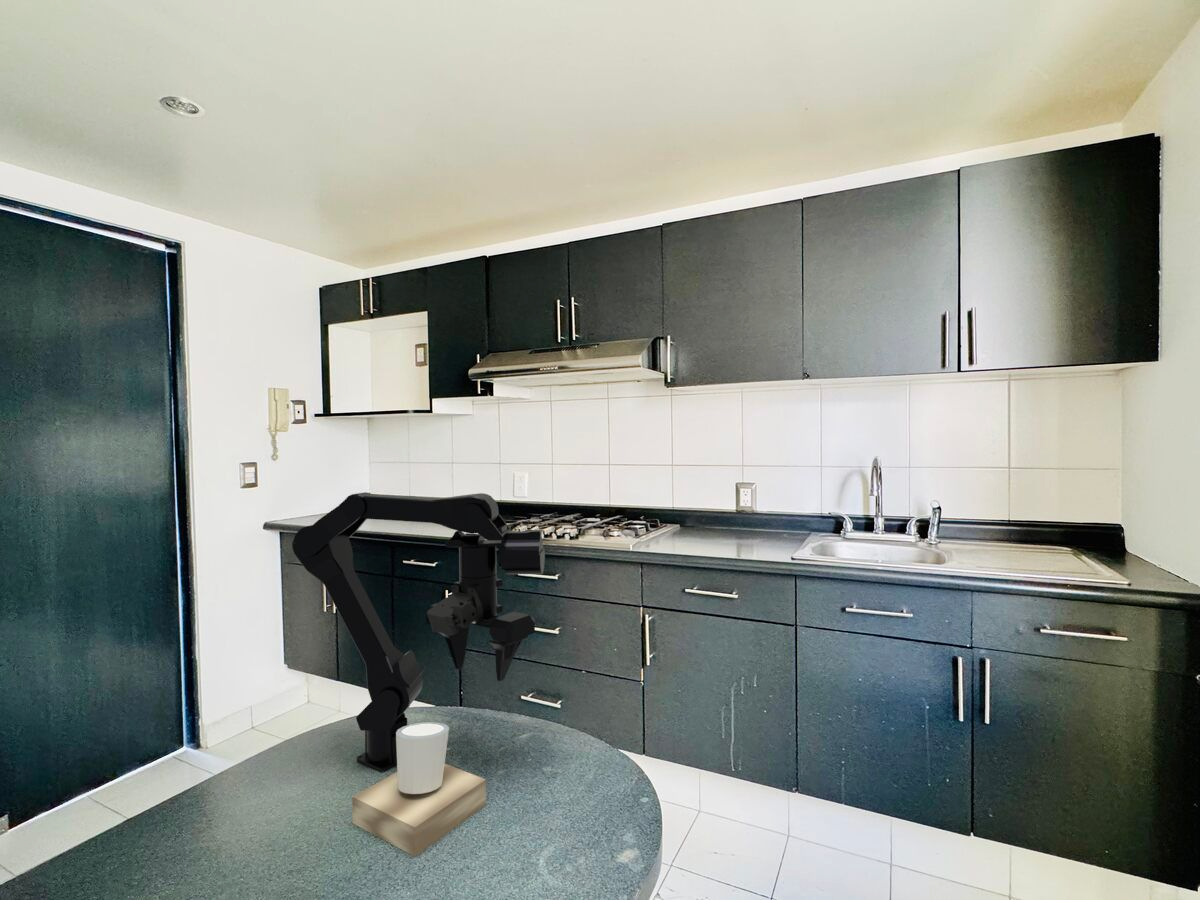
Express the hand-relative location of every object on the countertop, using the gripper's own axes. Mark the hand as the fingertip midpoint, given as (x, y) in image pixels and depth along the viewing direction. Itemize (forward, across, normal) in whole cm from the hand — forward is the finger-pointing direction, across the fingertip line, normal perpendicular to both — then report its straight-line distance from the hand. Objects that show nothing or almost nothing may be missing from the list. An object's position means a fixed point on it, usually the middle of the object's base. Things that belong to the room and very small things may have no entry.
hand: (479, 674), depth 92 cm
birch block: (+14, +4, -14) cm, 20 cm away
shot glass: (+10, +4, -14) cm, 18 cm away
